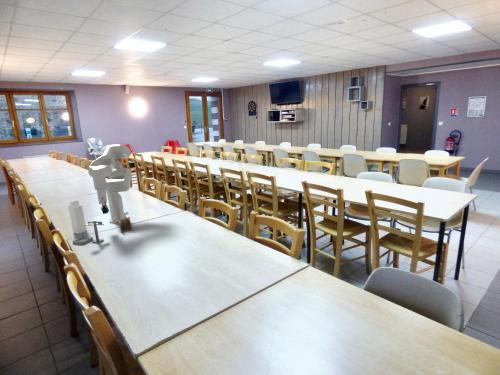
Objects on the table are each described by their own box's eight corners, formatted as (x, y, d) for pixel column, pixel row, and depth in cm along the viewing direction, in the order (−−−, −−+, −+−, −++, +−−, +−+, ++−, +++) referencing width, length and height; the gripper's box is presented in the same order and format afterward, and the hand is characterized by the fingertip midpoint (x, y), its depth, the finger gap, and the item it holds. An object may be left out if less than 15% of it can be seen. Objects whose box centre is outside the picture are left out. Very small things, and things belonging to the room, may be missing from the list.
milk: (73, 232, 210) (66, 202, 205) (81, 229, 216) (75, 199, 211) (79, 233, 208) (72, 202, 203) (87, 230, 213) (81, 200, 208)
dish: (83, 238, 198) (83, 236, 198) (93, 239, 195) (92, 237, 195) (73, 243, 191) (72, 241, 190) (82, 244, 188) (82, 242, 188)
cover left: (121, 232, 205) (120, 229, 211) (132, 230, 208) (131, 227, 214) (119, 223, 204) (118, 220, 210) (130, 221, 207) (129, 218, 213)
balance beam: (82, 225, 183) (82, 221, 183) (100, 224, 195) (100, 220, 196) (88, 225, 181) (88, 221, 182) (105, 225, 194) (105, 221, 194)
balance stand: (92, 242, 190) (89, 224, 188) (97, 240, 194) (94, 222, 191) (98, 243, 189) (95, 225, 186) (103, 240, 192) (100, 223, 190)
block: (103, 212, 208) (100, 207, 207) (109, 210, 210) (106, 204, 209) (103, 213, 205) (100, 208, 204) (109, 211, 206) (106, 206, 205)
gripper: (94, 184, 208) (99, 210, 213) (94, 190, 194) (99, 217, 198) (106, 183, 212) (110, 208, 216) (107, 188, 197) (111, 214, 202)
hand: (105, 212), depth 207 cm, fingers closed on block, 4 cm apart
